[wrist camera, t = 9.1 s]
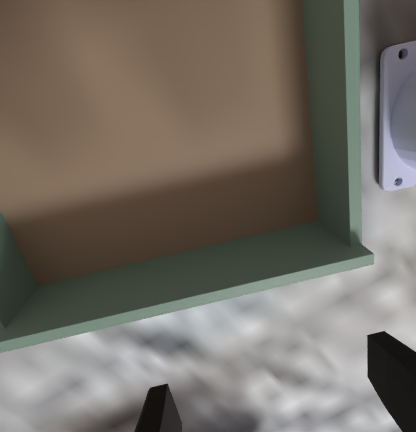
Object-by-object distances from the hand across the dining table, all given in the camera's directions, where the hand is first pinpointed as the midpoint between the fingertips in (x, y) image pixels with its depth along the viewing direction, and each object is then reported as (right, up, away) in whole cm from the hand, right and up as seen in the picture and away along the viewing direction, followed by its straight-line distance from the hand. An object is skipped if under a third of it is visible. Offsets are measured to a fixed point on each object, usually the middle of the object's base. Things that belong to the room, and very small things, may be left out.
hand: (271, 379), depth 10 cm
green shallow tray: (-6, +11, +5) cm, 13 cm away
